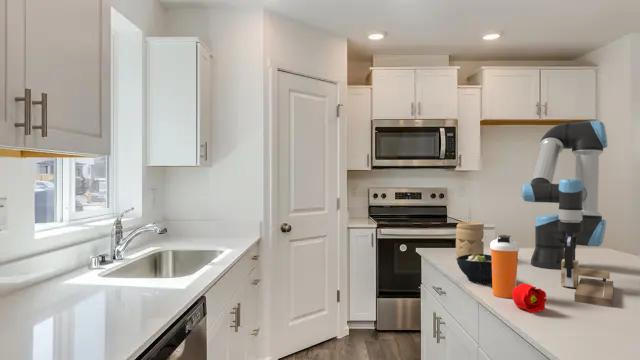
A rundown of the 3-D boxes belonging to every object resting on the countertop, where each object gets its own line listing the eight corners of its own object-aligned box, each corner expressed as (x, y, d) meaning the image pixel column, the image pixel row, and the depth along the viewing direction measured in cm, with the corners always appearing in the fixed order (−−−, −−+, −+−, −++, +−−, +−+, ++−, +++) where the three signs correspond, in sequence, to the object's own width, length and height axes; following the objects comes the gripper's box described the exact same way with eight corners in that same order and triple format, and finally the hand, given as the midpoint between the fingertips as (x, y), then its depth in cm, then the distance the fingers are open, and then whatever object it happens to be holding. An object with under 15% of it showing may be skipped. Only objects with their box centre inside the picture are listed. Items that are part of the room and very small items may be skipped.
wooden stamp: (561, 285, 154) (561, 261, 154) (562, 282, 158) (562, 258, 158) (609, 292, 146) (609, 266, 145) (609, 289, 150) (609, 263, 150)
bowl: (504, 278, 167) (504, 253, 167) (503, 288, 151) (503, 260, 151) (459, 273, 174) (459, 249, 174) (454, 283, 158) (454, 256, 158)
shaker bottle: (517, 293, 145) (517, 235, 145) (520, 300, 137) (520, 238, 137) (489, 290, 148) (489, 233, 148) (490, 297, 140) (491, 237, 140)
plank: (574, 301, 136) (574, 293, 136) (580, 283, 159) (580, 277, 159) (612, 307, 130) (612, 299, 130) (613, 288, 153) (613, 281, 153)
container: (457, 262, 198) (458, 224, 198) (453, 257, 210) (454, 221, 210) (486, 263, 196) (486, 224, 196) (480, 258, 208) (480, 221, 208)
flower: (532, 287, 133) (551, 293, 125) (523, 310, 132) (542, 318, 124) (512, 278, 131) (530, 283, 124) (503, 301, 131) (521, 308, 123)
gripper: (580, 224, 145) (580, 291, 145) (584, 219, 159) (583, 281, 160) (555, 222, 149) (555, 288, 149) (561, 218, 164) (560, 278, 164)
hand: (569, 284), depth 155 cm, fingers closed on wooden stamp, 5 cm apart
